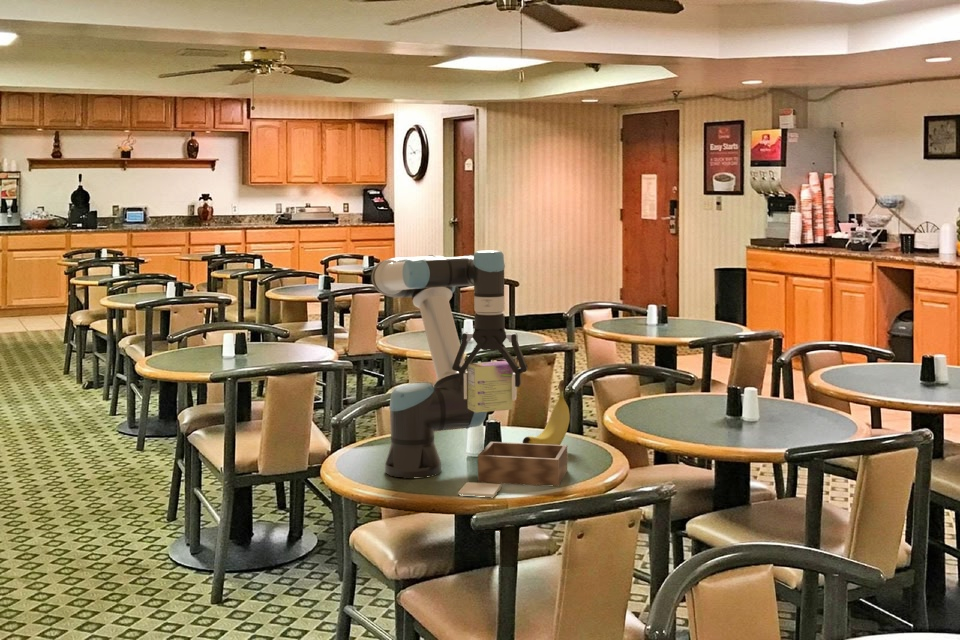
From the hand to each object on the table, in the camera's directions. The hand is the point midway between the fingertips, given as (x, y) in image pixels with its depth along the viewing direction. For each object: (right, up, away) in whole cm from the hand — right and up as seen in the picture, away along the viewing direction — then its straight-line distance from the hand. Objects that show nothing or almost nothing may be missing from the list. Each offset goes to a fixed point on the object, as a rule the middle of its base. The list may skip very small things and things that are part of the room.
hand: (490, 398), depth 270 cm
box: (0, -3, 0) cm, 3 cm away
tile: (-3, -23, 0) cm, 24 cm away
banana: (+16, -19, +35) cm, 43 cm away
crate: (+9, -21, +13) cm, 27 cm away
